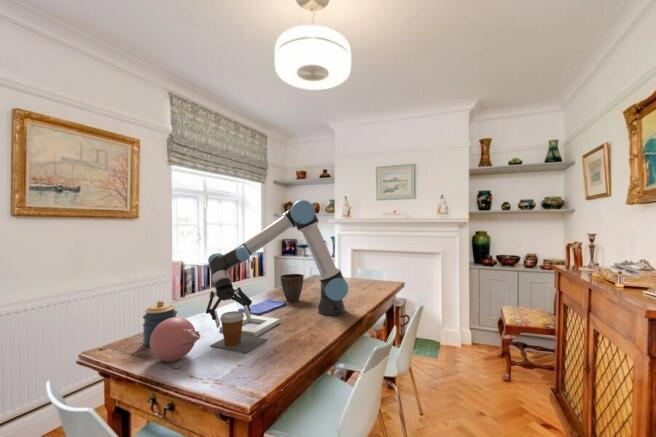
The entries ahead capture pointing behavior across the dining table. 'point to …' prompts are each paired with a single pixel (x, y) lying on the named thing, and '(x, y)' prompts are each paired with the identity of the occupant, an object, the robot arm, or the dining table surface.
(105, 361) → the dining table surface
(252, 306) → the dish towel
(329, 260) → the robot arm
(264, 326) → the holder board
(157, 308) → the canister
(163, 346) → the balloon
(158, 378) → the dining table surface
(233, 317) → the disposable coffee cup
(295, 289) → the plant pot
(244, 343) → the rubber mat
